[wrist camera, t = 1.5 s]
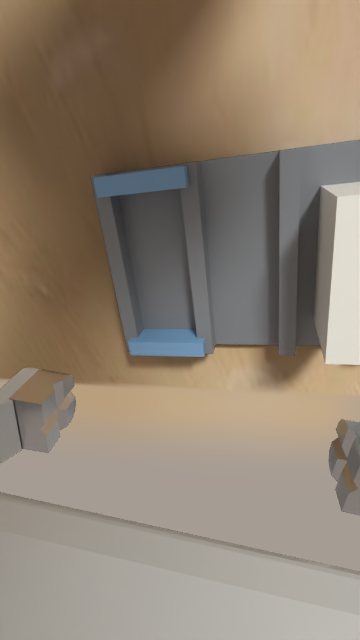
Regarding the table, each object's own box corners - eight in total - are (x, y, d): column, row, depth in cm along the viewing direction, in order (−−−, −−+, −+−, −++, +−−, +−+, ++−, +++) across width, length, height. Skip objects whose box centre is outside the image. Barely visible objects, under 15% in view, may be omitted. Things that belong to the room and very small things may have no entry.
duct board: (102, 174, 32) (82, 176, 29) (413, 132, 25) (436, 129, 22) (135, 338, 40) (122, 356, 36) (382, 341, 33) (395, 363, 29)
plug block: (320, 185, 27) (337, 196, 20) (361, 181, 26) (393, 191, 19) (313, 318, 32) (325, 363, 25) (347, 318, 31) (369, 365, 24)
